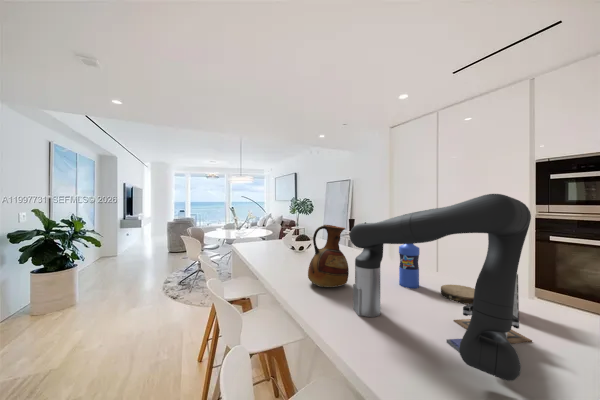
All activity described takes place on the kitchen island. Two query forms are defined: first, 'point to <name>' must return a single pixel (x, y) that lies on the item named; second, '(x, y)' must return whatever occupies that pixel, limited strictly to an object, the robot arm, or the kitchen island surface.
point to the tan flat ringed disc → (458, 293)
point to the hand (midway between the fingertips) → (489, 306)
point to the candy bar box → (516, 300)
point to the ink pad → (454, 343)
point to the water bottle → (409, 266)
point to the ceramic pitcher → (329, 260)
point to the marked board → (512, 335)
